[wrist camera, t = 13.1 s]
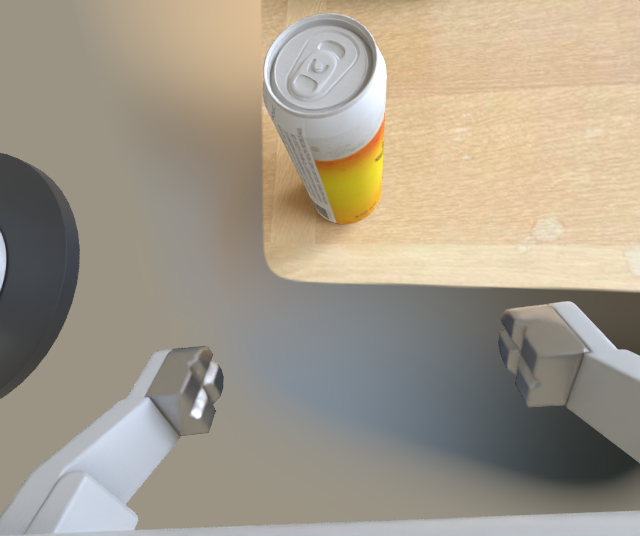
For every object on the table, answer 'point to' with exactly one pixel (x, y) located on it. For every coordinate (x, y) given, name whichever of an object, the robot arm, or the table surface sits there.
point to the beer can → (330, 111)
